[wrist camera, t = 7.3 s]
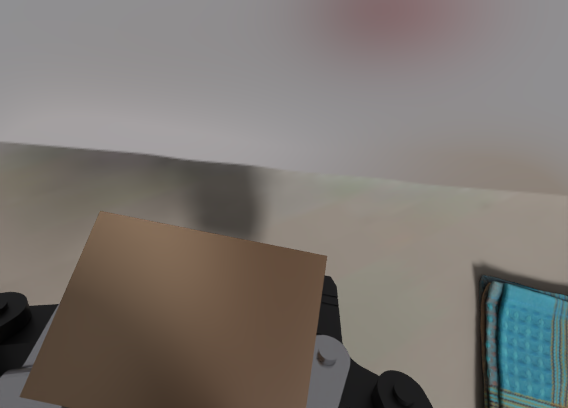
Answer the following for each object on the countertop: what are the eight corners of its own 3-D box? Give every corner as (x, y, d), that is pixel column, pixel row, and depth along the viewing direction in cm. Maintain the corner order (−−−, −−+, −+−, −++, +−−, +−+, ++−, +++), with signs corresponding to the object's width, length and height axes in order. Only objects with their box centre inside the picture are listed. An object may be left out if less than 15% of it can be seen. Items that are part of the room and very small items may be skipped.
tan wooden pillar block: (188, 333, 15) (19, 397, 5) (206, 268, 16) (100, 210, 6) (279, 351, 15) (299, 456, 5) (290, 285, 16) (327, 256, 6)
